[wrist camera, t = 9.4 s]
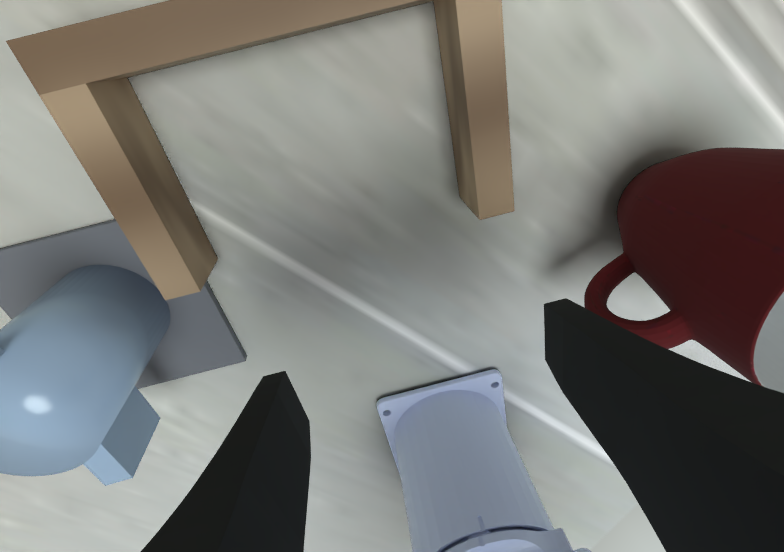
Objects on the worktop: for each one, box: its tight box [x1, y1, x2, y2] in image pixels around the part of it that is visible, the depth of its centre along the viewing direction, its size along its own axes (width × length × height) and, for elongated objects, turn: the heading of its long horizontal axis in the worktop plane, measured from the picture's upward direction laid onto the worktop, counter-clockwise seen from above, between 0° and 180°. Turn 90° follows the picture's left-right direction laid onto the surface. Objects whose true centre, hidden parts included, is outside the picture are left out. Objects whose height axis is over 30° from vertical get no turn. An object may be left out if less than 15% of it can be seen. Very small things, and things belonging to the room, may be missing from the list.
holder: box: [6, 0, 514, 300], centre depth 16 cm, size 10×15×3 cm, turn 102°
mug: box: [584, 148, 784, 393], centre depth 17 cm, size 10×8×10 cm
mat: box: [0, 219, 247, 389], centre depth 20 cm, size 9×9×1 cm
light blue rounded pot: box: [0, 265, 170, 486], centre depth 17 cm, size 8×5×7 cm, turn 14°
